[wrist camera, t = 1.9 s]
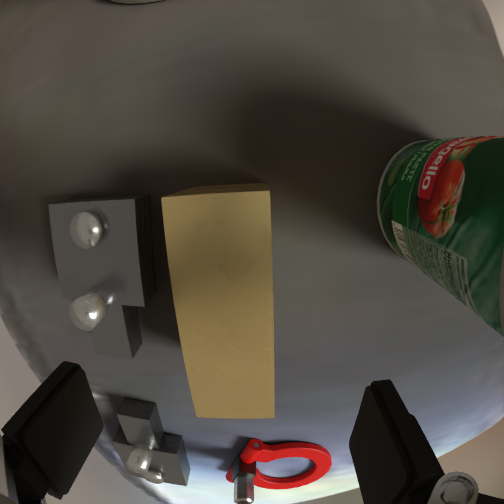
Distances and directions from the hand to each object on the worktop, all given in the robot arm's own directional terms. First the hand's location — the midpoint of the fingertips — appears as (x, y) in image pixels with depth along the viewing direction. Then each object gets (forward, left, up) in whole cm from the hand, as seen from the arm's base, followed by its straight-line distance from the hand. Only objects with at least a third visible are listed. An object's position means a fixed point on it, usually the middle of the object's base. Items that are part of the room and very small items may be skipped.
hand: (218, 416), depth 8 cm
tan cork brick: (-1, 0, -10) cm, 10 cm away
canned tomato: (-6, +12, -10) cm, 17 cm away
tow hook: (+18, +4, -10) cm, 21 cm away
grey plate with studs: (+7, -8, -10) cm, 15 cm away
